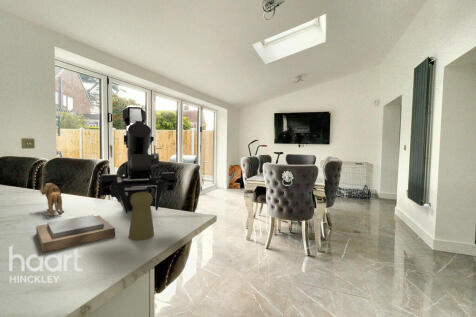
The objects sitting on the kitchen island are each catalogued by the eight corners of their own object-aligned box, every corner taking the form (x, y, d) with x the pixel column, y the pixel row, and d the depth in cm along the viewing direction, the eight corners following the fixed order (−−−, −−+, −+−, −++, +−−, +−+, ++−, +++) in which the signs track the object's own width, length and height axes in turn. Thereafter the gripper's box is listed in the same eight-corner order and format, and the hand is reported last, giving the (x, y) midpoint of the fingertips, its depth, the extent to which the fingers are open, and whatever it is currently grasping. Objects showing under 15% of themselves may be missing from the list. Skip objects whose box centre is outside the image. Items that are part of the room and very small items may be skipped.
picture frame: (99, 222, 70) (98, 211, 69) (115, 235, 60) (115, 224, 59) (36, 233, 60) (36, 222, 60) (43, 252, 50) (42, 238, 50)
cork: (159, 233, 62) (159, 191, 62) (142, 241, 56) (142, 195, 56) (140, 229, 64) (140, 189, 63) (122, 238, 58) (122, 193, 58)
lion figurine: (38, 209, 82) (38, 183, 81) (57, 206, 86) (57, 181, 85) (51, 218, 72) (50, 188, 72) (72, 214, 77) (71, 186, 76)
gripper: (99, 141, 58) (95, 195, 49) (176, 143, 67) (185, 189, 57) (101, 170, 66) (99, 221, 57) (170, 169, 74) (178, 213, 65)
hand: (142, 211), depth 59 cm, fingers open, 7 cm apart
